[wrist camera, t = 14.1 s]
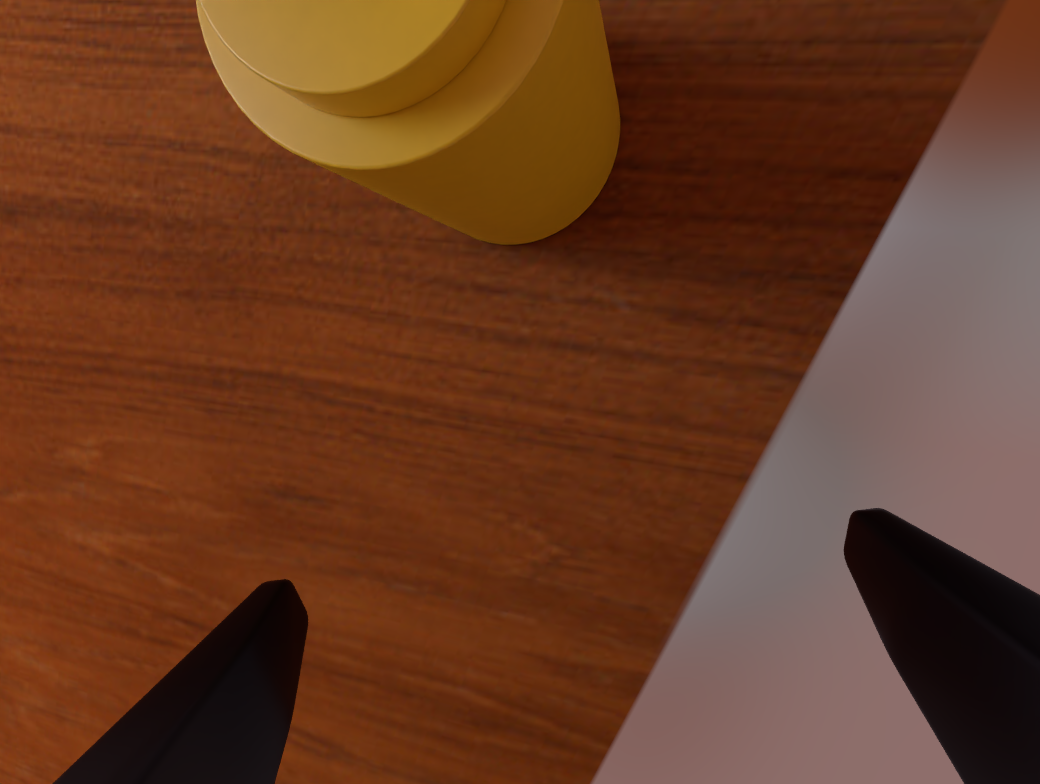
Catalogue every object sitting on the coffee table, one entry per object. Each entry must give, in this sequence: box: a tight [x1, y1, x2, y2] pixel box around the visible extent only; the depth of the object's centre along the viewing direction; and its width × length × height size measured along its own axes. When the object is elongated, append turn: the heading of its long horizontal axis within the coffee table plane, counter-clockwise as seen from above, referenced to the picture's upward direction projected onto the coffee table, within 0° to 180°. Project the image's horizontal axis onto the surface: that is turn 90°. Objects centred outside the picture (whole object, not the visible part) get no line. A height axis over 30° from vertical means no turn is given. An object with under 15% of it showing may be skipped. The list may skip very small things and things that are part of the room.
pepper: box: [196, 0, 620, 245], centre depth 12 cm, size 7×7×12 cm
